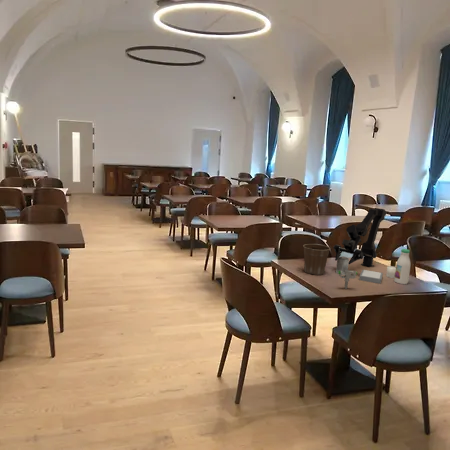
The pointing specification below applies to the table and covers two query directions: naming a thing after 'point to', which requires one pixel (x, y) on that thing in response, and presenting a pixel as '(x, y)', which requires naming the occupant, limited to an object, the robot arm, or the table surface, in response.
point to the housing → (342, 264)
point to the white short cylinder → (391, 271)
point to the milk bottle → (403, 267)
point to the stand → (371, 276)
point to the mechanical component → (347, 276)
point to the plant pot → (315, 258)
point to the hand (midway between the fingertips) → (342, 262)
